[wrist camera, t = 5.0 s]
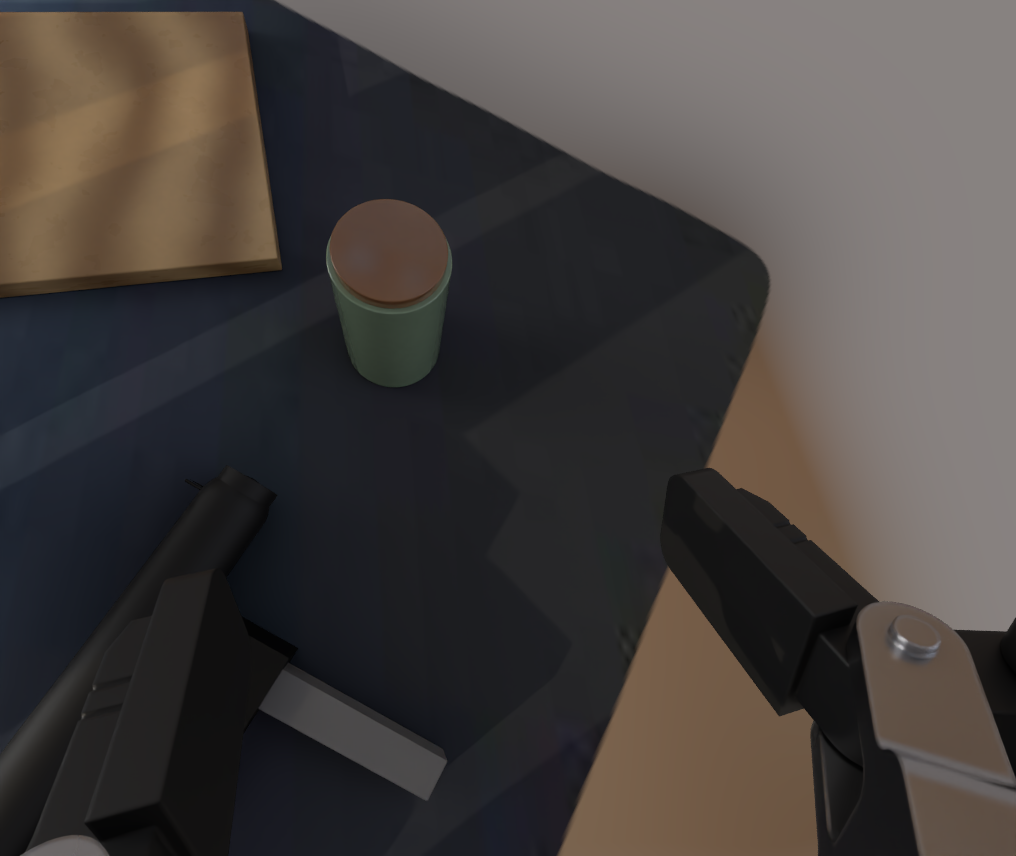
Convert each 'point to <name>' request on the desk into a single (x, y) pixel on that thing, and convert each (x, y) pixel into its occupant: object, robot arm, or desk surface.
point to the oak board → (130, 151)
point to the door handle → (273, 681)
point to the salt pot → (390, 289)
